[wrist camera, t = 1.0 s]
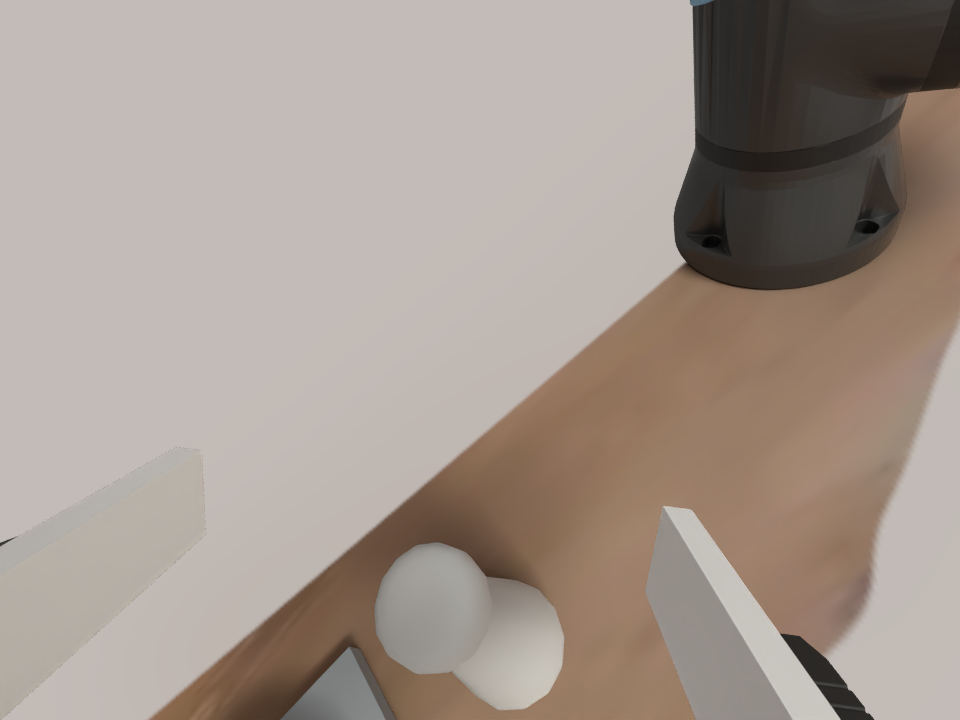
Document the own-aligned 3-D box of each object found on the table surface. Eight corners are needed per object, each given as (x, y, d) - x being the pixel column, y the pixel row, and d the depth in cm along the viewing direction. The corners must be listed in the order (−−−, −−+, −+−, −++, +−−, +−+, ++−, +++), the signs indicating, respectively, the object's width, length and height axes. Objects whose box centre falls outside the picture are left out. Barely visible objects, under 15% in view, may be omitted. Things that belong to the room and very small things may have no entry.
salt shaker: (474, 713, 24) (330, 701, 15) (473, 595, 28) (357, 527, 19) (581, 709, 23) (496, 693, 13) (566, 585, 27) (491, 505, 17)
